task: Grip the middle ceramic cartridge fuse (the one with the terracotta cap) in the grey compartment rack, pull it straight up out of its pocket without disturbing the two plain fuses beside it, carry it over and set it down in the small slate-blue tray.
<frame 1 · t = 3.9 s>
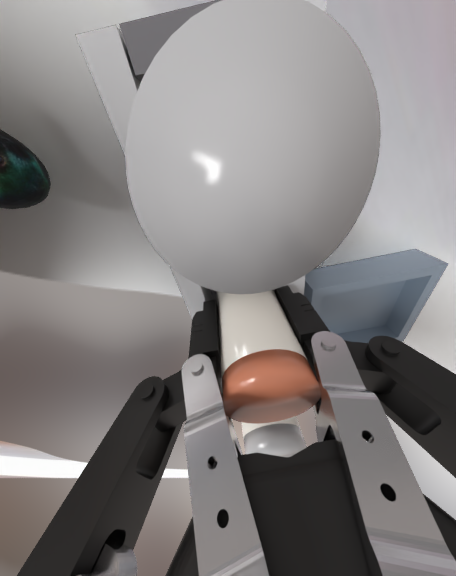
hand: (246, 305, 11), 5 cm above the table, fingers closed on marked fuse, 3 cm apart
grey compartment rack: (237, 267, 15), on the table
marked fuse: (239, 275, 14), point 1 cm above the table, touching grey compartment rack, gripper
fuse c: (249, 335, 18), point 1 cm above the table, touching grey compartment rack
tray: (346, 300, 18), on the table
fuse a: (220, 166, 10), point 1 cm above the table, touching grey compartment rack
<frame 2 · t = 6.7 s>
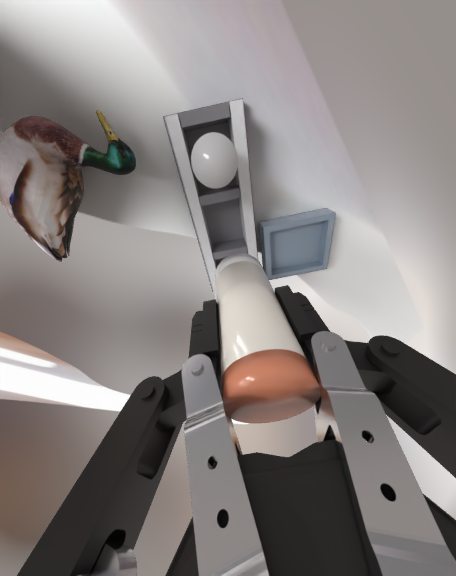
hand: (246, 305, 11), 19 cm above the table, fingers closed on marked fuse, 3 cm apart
grey compartment rack: (223, 217, 27), on the table
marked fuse: (239, 275, 14), point 16 cm above the table, touching gripper
decorative duck model: (87, 192, 24), on the table
tray: (291, 243, 30), on the table
fuse a: (212, 159, 22), point 1 cm above the table, touching grey compartment rack
when the fingers open (6 cm above the table, at t = 9.8 s): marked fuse drops 1 cm, resting on tray.
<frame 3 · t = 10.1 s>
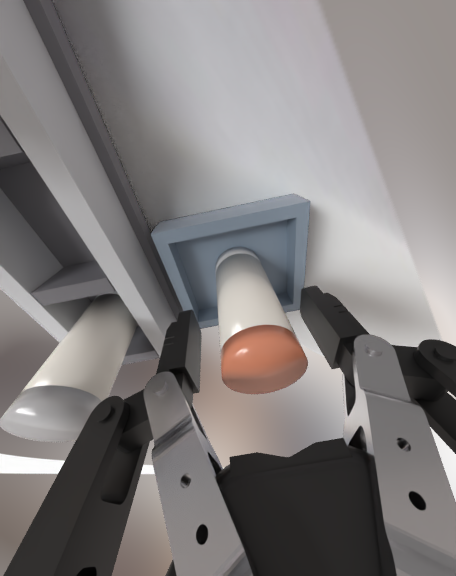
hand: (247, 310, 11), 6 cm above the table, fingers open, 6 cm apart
grey compartment rack: (77, 213, 13), on the table
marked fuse: (237, 267, 15), point 1 cm above the table, touching tray
fuse c: (122, 302, 16), point 1 cm above the table, touching grey compartment rack
tray: (235, 261, 16), on the table
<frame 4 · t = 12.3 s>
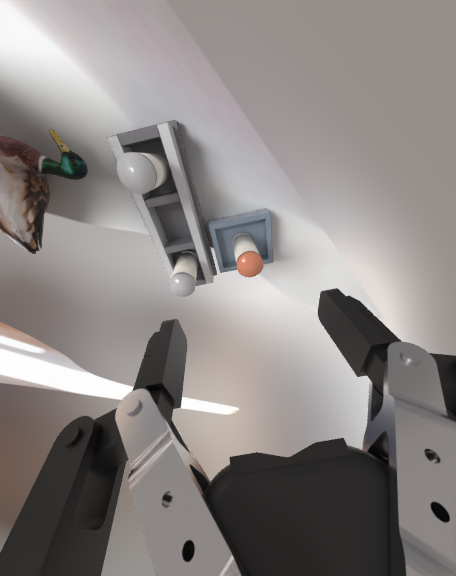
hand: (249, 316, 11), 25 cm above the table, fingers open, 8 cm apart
grey compartment rack: (176, 218, 31), on the table
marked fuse: (242, 241, 33), point 1 cm above the table, touching tray
fuse c: (188, 258, 34), point 1 cm above the table, touching grey compartment rack
decorative duck model: (55, 195, 28), on the table
tray: (241, 239, 34), on the table
fuse a: (157, 169, 26), point 1 cm above the table, touching grey compartment rack
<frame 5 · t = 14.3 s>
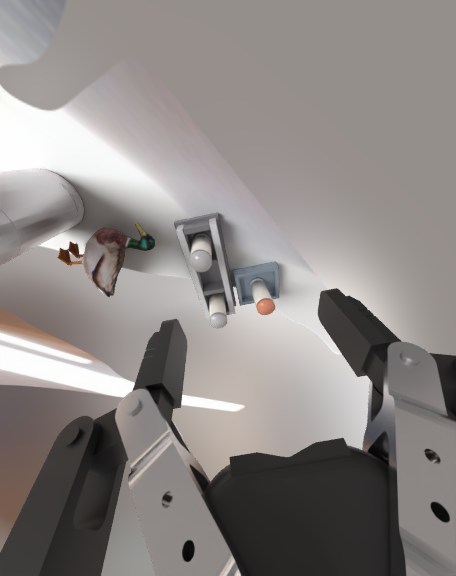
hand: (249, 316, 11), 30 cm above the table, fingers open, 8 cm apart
grey compartment rack: (210, 268, 43), on the table
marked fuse: (256, 283, 45), point 1 cm above the table, touching tray
fuse c: (216, 295, 46), point 1 cm above the table, touching grey compartment rack
decorative duck model: (124, 254, 39), on the table
tray: (255, 281, 46), on the table
fuse a: (202, 241, 38), point 1 cm above the table, touching grey compartment rack
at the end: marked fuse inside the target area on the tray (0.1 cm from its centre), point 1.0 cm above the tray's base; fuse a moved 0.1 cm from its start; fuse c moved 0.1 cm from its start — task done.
